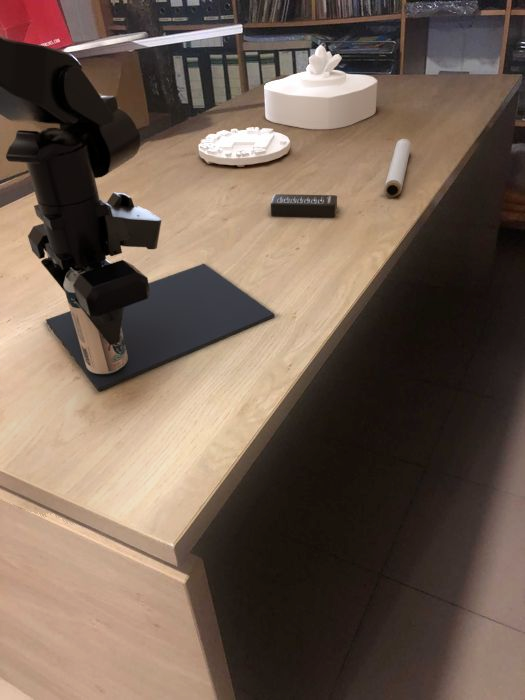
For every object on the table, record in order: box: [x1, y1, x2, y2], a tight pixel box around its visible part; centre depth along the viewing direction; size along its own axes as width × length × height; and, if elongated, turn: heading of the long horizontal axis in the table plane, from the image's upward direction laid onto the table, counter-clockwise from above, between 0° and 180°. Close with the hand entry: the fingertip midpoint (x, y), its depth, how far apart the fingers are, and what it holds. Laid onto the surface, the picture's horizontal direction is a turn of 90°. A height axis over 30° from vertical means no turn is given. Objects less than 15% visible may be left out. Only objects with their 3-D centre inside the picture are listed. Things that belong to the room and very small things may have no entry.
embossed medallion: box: [198, 126, 291, 168], centre depth 130 cm, size 20×20×3 cm
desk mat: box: [45, 263, 275, 392], centre depth 77 cm, size 24×18×1 cm
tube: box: [384, 138, 412, 198], centre depth 114 cm, size 3×3×25 cm
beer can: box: [63, 270, 128, 374], centre depth 66 cm, size 5×5×12 cm
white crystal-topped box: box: [263, 44, 378, 131], centre depth 149 cm, size 25×25×16 cm
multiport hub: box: [270, 193, 338, 219], centre depth 102 cm, size 4×11×2 cm, turn 79°
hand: (101, 329), depth 66 cm, fingers open, 6 cm apart
